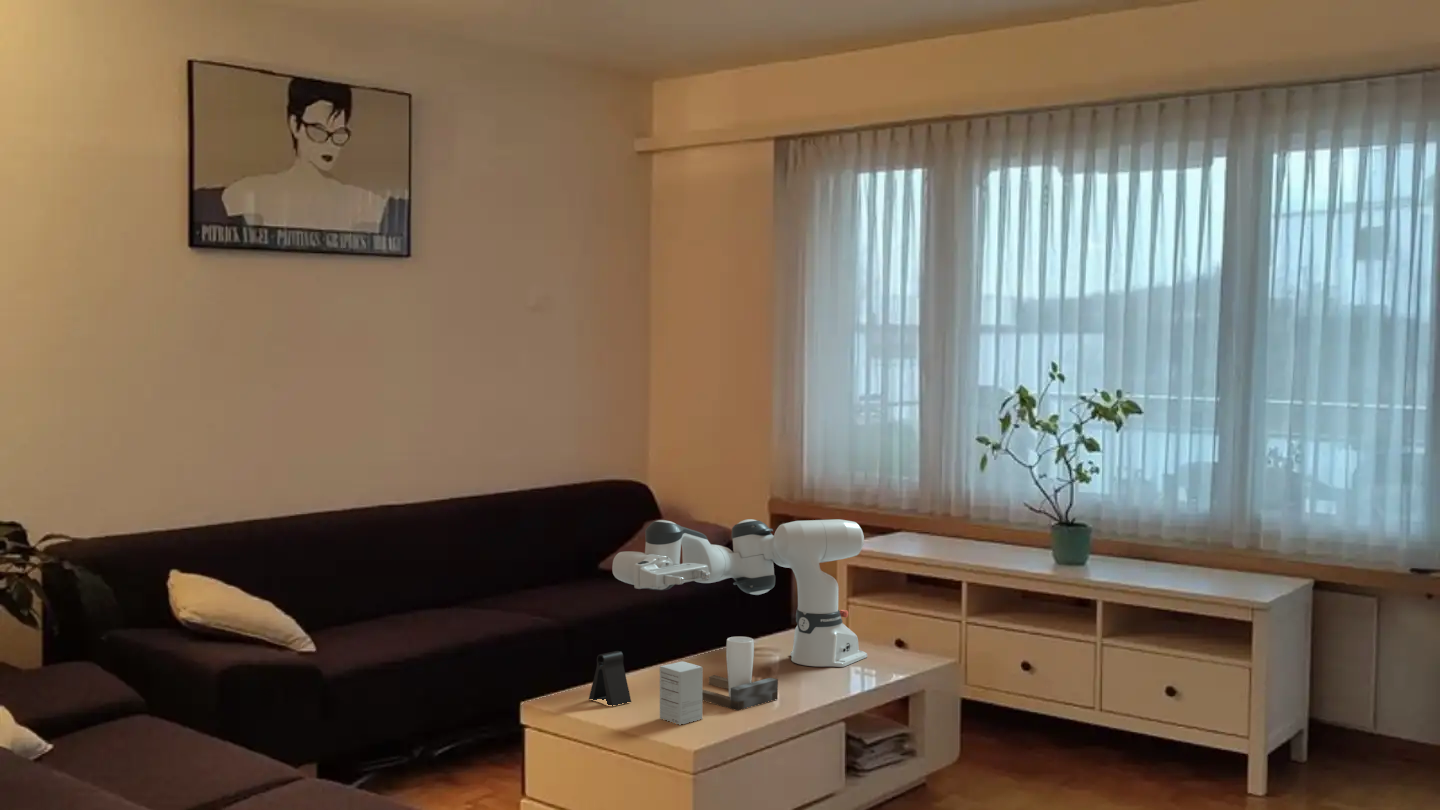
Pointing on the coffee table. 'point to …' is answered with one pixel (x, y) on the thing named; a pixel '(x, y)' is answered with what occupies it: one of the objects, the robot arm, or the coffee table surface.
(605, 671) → the phone stand
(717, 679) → the guide track
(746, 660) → the drinking glass
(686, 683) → the supplement box
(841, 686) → the coffee table surface
